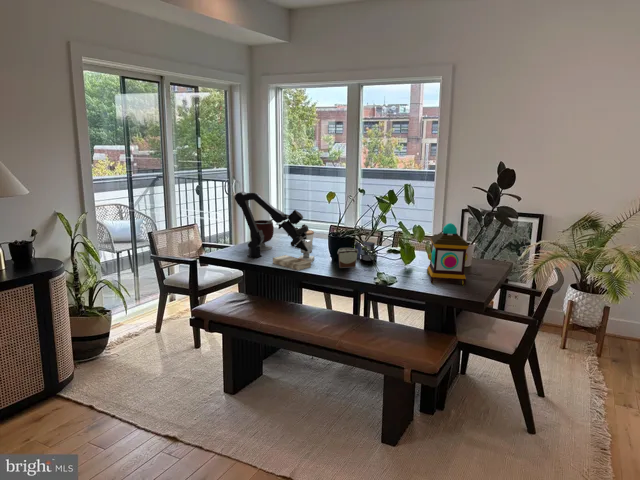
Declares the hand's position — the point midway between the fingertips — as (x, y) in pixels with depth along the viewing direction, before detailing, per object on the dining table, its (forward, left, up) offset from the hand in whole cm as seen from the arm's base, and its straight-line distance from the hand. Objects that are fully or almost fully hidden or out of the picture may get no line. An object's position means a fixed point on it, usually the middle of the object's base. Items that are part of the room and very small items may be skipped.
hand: (308, 249), depth 277 cm
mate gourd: (-40, +1, -7) cm, 41 cm away
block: (-1, -1, -7) cm, 7 cm away
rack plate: (0, -14, -7) cm, 15 cm away
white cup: (-1, -1, -5) cm, 5 cm away
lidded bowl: (-30, +28, -7) cm, 42 cm away
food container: (+22, +7, -7) cm, 24 cm away
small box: (+20, +27, -7) cm, 34 cm away
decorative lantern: (+74, +25, -7) cm, 78 cm away
